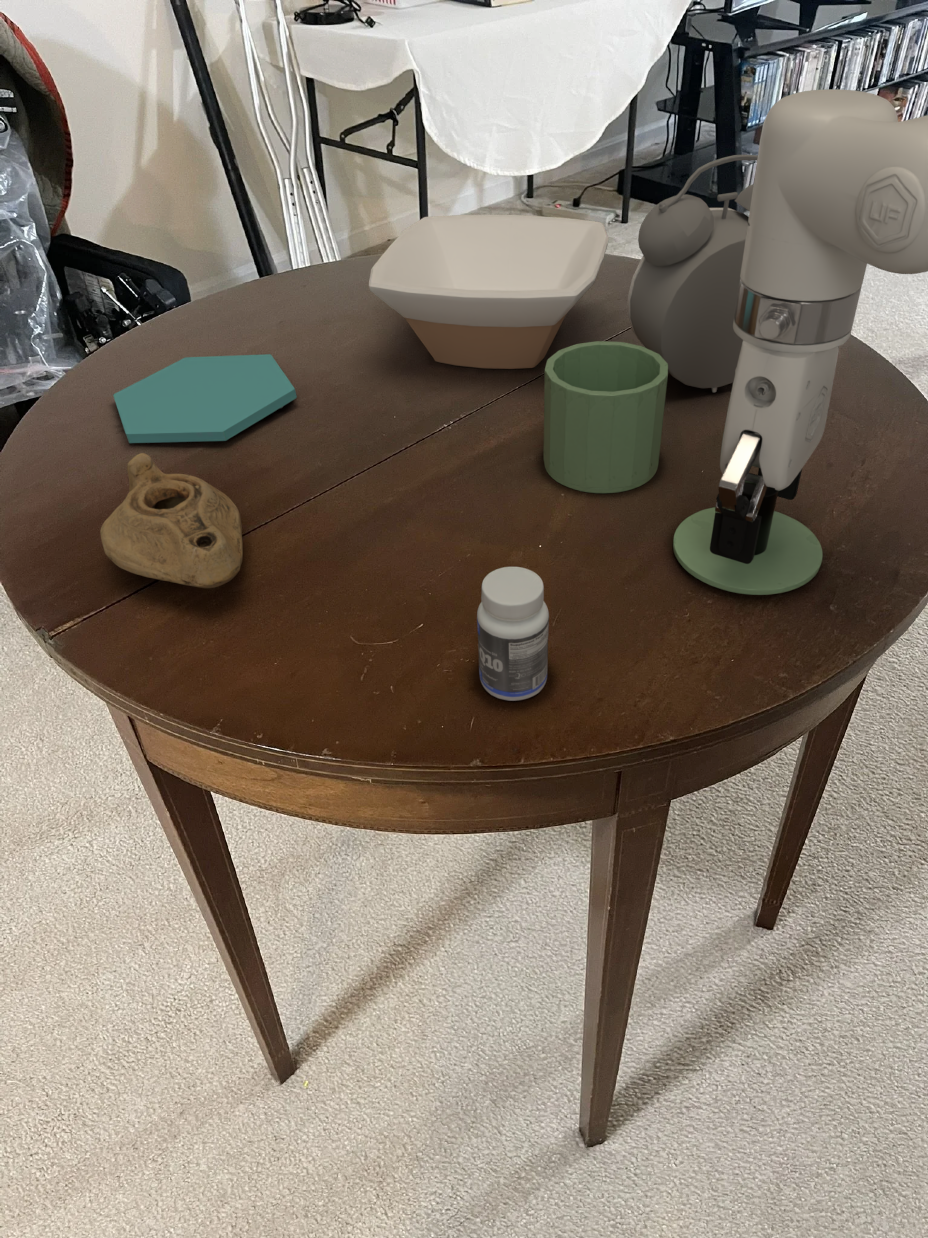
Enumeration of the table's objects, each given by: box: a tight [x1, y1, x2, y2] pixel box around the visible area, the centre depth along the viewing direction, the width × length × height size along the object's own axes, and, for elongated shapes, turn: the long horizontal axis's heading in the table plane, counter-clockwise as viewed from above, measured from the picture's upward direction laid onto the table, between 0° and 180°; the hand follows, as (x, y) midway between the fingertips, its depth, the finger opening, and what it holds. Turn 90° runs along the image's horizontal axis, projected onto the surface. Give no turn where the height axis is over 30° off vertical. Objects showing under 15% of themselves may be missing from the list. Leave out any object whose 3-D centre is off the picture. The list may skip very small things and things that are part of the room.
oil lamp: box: [99, 452, 244, 589], centre depth 74 cm, size 11×15×8 cm
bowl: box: [368, 214, 610, 370], centre depth 103 cm, size 24×25×11 cm
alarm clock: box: [627, 154, 758, 393], centre depth 90 cm, size 16×9×22 cm, turn 108°
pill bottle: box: [476, 566, 550, 702], centre depth 62 cm, size 5×5×8 cm
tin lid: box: [672, 483, 824, 596], centre depth 72 cm, size 11×11×7 cm
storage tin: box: [542, 340, 669, 494], centre depth 83 cm, size 10×10×10 cm
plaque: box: [112, 353, 298, 444], centre depth 98 cm, size 17×2×20 cm
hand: (753, 524), depth 72 cm, fingers open, 9 cm apart
